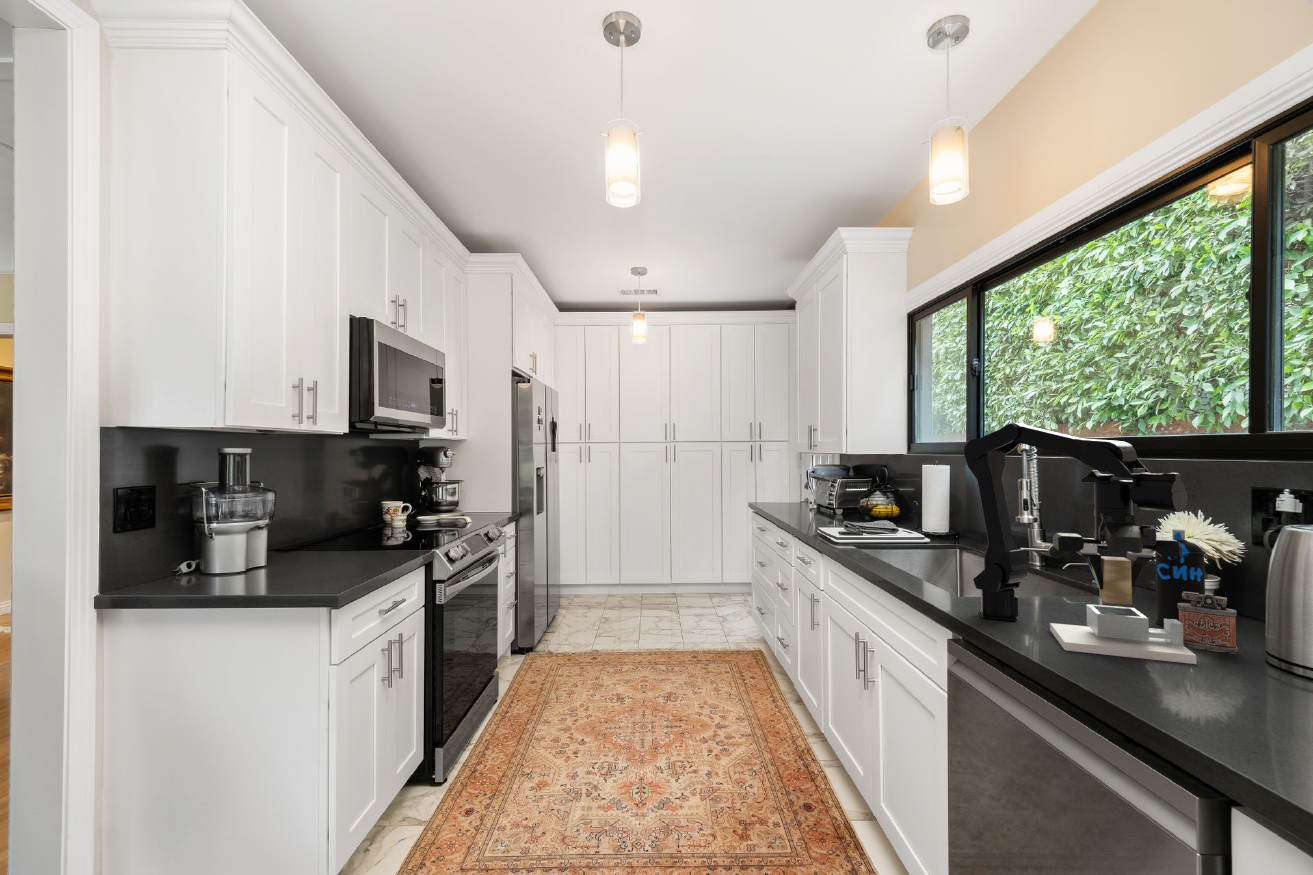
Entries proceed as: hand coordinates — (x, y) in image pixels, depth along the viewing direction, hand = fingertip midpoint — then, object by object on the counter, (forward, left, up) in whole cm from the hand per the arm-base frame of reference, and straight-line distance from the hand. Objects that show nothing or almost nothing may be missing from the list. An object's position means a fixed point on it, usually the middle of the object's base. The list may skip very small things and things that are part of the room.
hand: (1114, 590), depth 112 cm
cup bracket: (+3, 0, -9) cm, 9 cm away
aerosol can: (+16, +20, -11) cm, 28 cm away
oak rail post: (0, 0, -2) cm, 2 cm away
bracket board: (0, 0, -10) cm, 10 cm away
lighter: (+15, +5, -11) cm, 19 cm away
